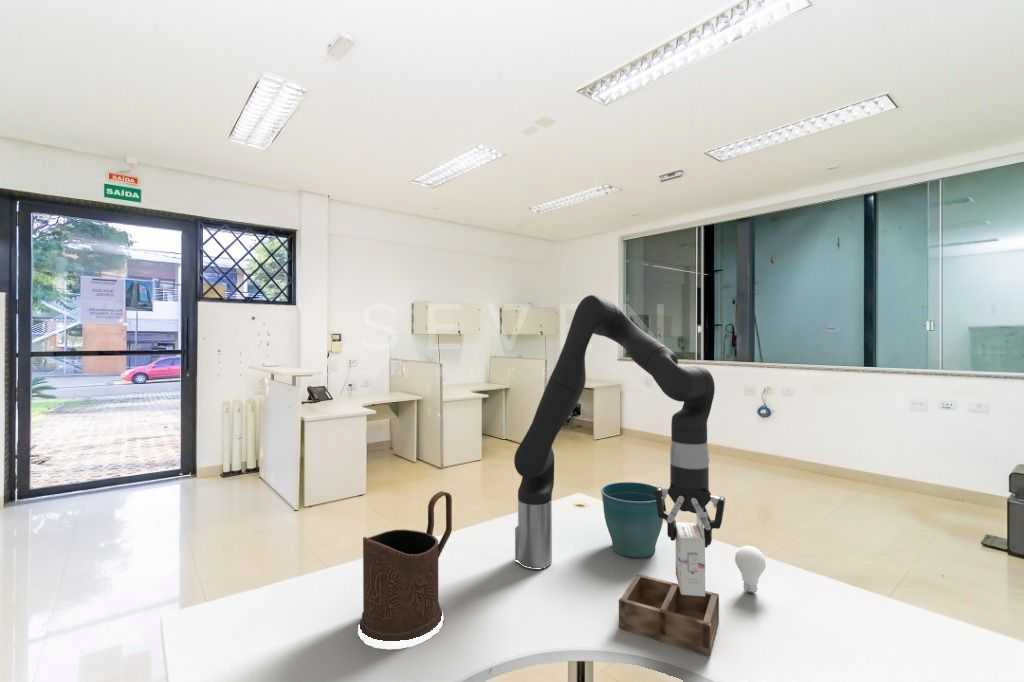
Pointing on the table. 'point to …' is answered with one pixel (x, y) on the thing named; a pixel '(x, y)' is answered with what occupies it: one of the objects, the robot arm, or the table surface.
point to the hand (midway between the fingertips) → (689, 542)
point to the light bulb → (750, 566)
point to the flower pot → (632, 518)
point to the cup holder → (403, 580)
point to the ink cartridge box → (690, 558)
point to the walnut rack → (669, 614)
